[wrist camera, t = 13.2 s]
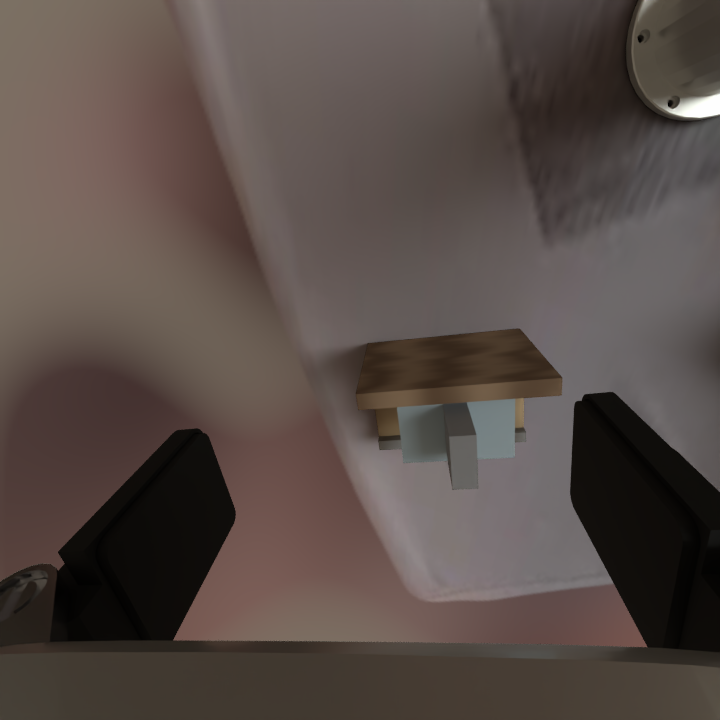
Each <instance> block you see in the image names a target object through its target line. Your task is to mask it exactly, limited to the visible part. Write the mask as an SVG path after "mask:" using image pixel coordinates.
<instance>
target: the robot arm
mask: <svg viewBox="0 0 720 720" xmlns="http://www.w3.org/2000/svg"><path fill="white" fill-rule="evenodd" d="M638 37H639V38H640V40H641V41H640V43H639V42H638ZM626 60H627V68H628V73H629V77H630V81H631V83H632V85H633V87H634V89H635V92H636V94H637V95H638V96H639V98H640V99H641V100H642V101H643V102H644V104H645V105H646V106H647V107H649V108H650V109H651V110H653V111H654V112H656V113H657V114H659V115H662V116H664V117H667V118H669V119H674V120H681V121H694V120H703V119H707V118H712V117H716V116H719V115H720V0H638V2H637V4H636V7H635V9H634V12H633V15H632V19H631V22H630V26H629V29H628V37H627V44H626ZM668 101H669V102H670V105H669V107H668ZM570 495H571V501H572V504H573V507H574V509H575V511H576V513H577V515H578V517H579V519H580V521H581V522H582V524H583V526H584V528H585V530H586V532H587V534H588V536H589V537H590V539H591V541H592V543H593V545H594V547H595V549H596V551H597V553H598V554H599V556H600V558H601V560H602V562H603V564H604V566H605V568H606V570H607V571H608V573H609V575H610V577H611V579H612V581H613V583H614V585H615V586H616V588H617V590H618V592H619V594H620V596H621V598H622V599H623V601H624V603H625V605H626V607H627V609H628V611H629V613H630V615H631V617H632V618H633V620H634V622H635V624H636V626H637V628H638V630H639V632H640V633H641V635H642V637H643V639H644V641H645V643H646V644H647V647H617V646H615V647H614V646H586V645H554V644H488V643H486V644H485V643H422V642H421V643H419V642H331V641H330V642H329V641H328V642H327V641H173V639H174V637H175V635H176V633H177V631H178V629H179V627H180V626H181V624H182V622H183V620H184V618H185V616H186V614H187V612H188V610H189V608H190V606H191V605H192V603H193V601H194V599H195V597H196V595H197V593H198V591H199V589H200V587H201V585H202V583H203V581H204V580H205V578H206V576H207V574H208V572H209V570H210V568H211V566H212V564H213V562H214V560H215V558H216V557H217V555H218V553H219V551H220V549H221V547H222V545H223V543H224V541H225V539H226V537H227V536H228V534H229V532H230V530H231V527H232V526H233V524H234V521H235V515H236V514H235V508H234V505H233V502H232V499H231V497H230V494H229V491H228V489H227V486H226V483H225V480H224V478H223V475H222V472H221V469H220V467H219V464H218V461H217V458H216V456H215V453H214V450H213V447H212V445H211V442H210V439H209V437H208V436H207V434H205V433H203V432H202V431H201V430H200V429H185V430H177V431H175V432H174V433H173V434H172V435H171V436H170V437H169V438H168V439H167V440H166V441H165V442H164V443H163V444H162V445H161V446H160V447H159V448H158V449H157V451H155V452H154V453H153V454H152V456H150V457H149V459H148V460H147V461H146V462H145V463H144V464H143V465H142V466H141V467H140V468H139V469H138V470H137V471H136V472H135V473H134V474H133V475H132V476H131V477H130V478H129V479H128V480H127V481H126V482H125V483H124V484H123V485H122V486H121V487H120V489H119V490H117V492H116V493H115V494H114V495H113V496H112V497H111V498H110V499H109V500H108V501H107V502H106V503H105V504H104V505H103V506H102V507H101V508H100V509H99V510H98V511H97V512H96V513H95V514H94V516H92V517H91V518H90V520H89V521H88V522H87V523H85V525H84V526H83V527H82V528H81V529H80V530H79V531H78V532H77V533H76V534H75V535H74V536H73V537H72V538H71V539H70V540H69V541H68V542H67V543H66V544H65V545H64V546H63V547H62V548H61V549H60V550H59V551H58V553H59V555H60V556H61V558H62V560H63V561H64V563H65V564H64V565H63V566H62V567H61V568H60V570H59V571H58V570H57V569H56V567H54V566H53V565H51V564H38V565H33V566H30V567H27V568H25V569H22V570H20V571H18V572H16V573H14V574H12V575H10V576H9V577H7V578H5V579H3V580H2V581H1V582H0V720H720V492H719V491H718V490H717V489H716V488H715V487H714V486H713V485H712V484H711V483H709V482H708V481H707V480H706V479H705V478H704V477H703V476H702V475H701V474H700V473H699V472H698V471H697V470H696V469H695V468H694V467H693V466H692V465H691V464H690V463H689V462H688V461H686V460H685V459H684V458H683V457H682V456H681V455H680V454H679V453H678V452H677V451H676V450H674V449H673V448H671V447H670V446H669V445H668V444H667V443H666V442H665V441H664V440H663V439H662V438H661V437H660V436H659V435H658V434H657V433H656V432H655V431H654V430H653V429H651V428H650V427H649V426H648V425H647V424H646V423H645V422H644V421H643V420H642V419H641V418H640V417H639V416H638V415H637V414H636V413H635V412H634V411H633V410H632V409H631V408H630V407H629V406H628V405H627V404H625V403H624V402H623V401H622V400H621V399H620V398H619V397H618V396H617V395H616V394H615V393H613V392H606V393H595V394H585V395H584V396H583V398H582V401H577V402H575V406H574V423H573V444H572V465H571V487H570Z"/></svg>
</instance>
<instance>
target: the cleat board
mask: <svg viewBox="0 0 720 720" xmlns="http://www.w3.org/2000/svg"><path fill="white" fill-rule="evenodd" d="M560 395H562V377H561V376H560V375H559V373H558V372H557V371H556V370H555V369H554V368H553V366H552V365H551V364H550V363H549V362H548V361H547V360H546V358H545V357H544V356H543V355H542V354H541V353H540V351H539V350H538V349H537V348H536V347H535V346H534V344H533V343H532V342H531V341H530V340H529V339H528V338H527V336H526V335H525V334H524V333H523V332H522V331H521V329H510V330H500V331H489V332H479V333H469V334H459V335H448V336H438V337H428V338H418V339H408V340H397V341H387V342H377V343H368V346H367V350H366V354H365V358H364V362H363V366H362V371H361V375H360V379H359V383H358V387H357V391H356V398H357V405H358V410H367V409H375V413H376V419H377V426H378V433H379V441H378V442H379V449H380V450H391V449H402V446H401V437H400V429H399V420H398V412H397V407H408V406H422V405H436V404H450V403H463V402H477V401H491V400H505V399H515V442H526V431H525V429H524V427H523V426H524V398H532V397H546V396H560Z"/></svg>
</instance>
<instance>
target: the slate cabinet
mask: <svg viewBox="0 0 720 720" xmlns="http://www.w3.org/2000/svg"><path fill="white" fill-rule="evenodd" d="M397 412H398V420H399V429H400V437H401V446H402V454H403V463H413V462H433V461H448V465H449V471H450V477H451V484H452V490H456V489H478V462H477V459H494V458H514V457H515V399H505V400H491V401H477V402H463V403H450V404H436V405H422V406H408V407H397Z"/></svg>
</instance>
